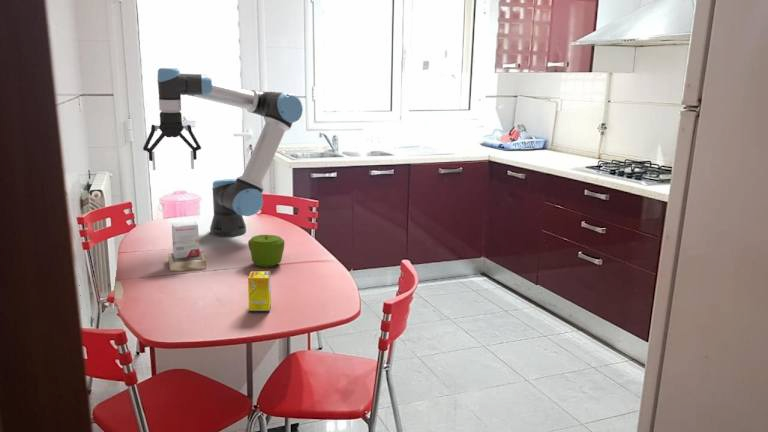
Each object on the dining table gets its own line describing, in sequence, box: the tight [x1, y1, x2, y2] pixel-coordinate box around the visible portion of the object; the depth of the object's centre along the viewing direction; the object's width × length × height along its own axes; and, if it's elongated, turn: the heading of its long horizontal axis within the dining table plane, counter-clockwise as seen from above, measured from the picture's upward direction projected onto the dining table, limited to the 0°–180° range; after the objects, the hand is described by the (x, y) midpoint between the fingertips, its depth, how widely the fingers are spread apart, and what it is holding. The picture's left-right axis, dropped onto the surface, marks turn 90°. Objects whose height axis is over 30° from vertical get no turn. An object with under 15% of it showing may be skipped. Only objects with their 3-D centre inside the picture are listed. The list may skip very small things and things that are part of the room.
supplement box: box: [247, 270, 272, 314], centre depth 176 cm, size 6×6×11 cm
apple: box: [247, 234, 285, 268], centre depth 217 cm, size 12×12×11 cm
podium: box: [167, 250, 207, 272], centre depth 215 cm, size 12×12×3 cm
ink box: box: [171, 221, 200, 259], centre depth 214 cm, size 9×5×12 cm, turn 115°
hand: (173, 169), depth 224 cm, fingers open, 13 cm apart
